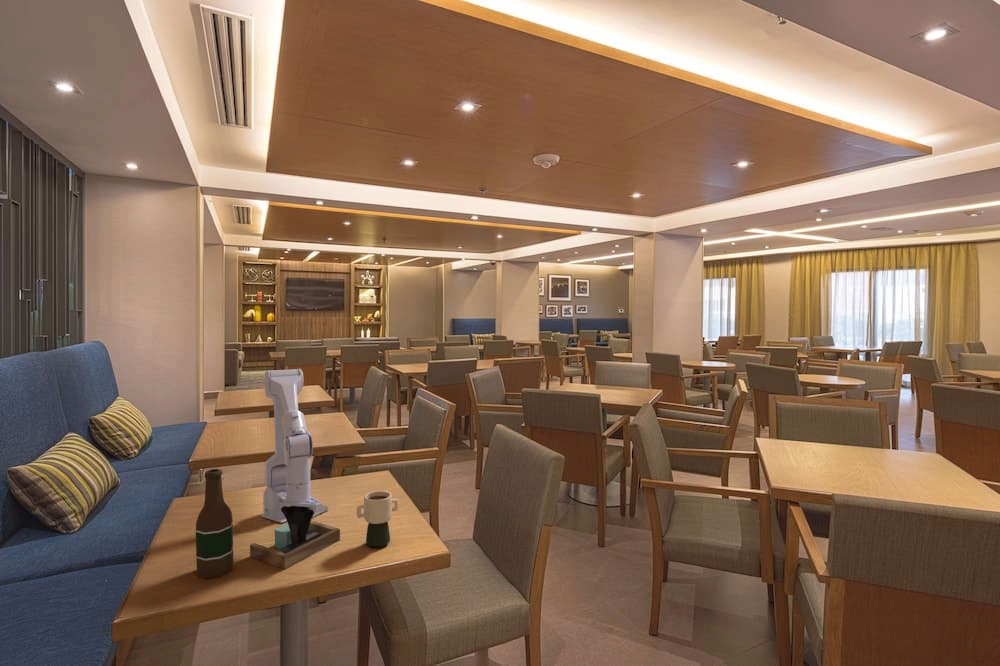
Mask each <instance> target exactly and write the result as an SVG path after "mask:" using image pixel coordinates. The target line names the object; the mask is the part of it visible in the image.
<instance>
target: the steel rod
mask: <svg viewBox="0 0 1000 666" xmlns="http://www.w3.org/2000/svg"><path fill="white" fill-rule="evenodd" d="M326 511H327V512H328V511H329V506H328V505H327V504H324V505H322V510H321V511H318V512H315V513H314V514H313V516H312V519H313V518H316V517H317V515H318V516H320V515H322V514H324V513H327V512H326ZM319 514H320V515H319ZM315 516H316V517H315Z"/></svg>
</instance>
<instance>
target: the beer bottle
mask: <svg viewBox="0 0 1000 666" xmlns="http://www.w3.org/2000/svg"><path fill="white" fill-rule="evenodd" d="M222 475H223V471H222V469H220V468H211V469H209V470H206V471H205V473H204V478H205V485H204V486H205V487H204V488H205V489H204V490H205V491H204V493H205V494H204V504H203V506H202V508H201V510H200V512H199V513H198V516H197V519H196V522H195V549H196V550H195V551H196V552H195V558H196V575H197V577H199V578H202V579H205V580H209V579H216V577H217V578H221V577H223V576H225V575H227V574H228V573H230V572H231V571H232V569H233V565H234V528H233V527H234V522H233V513H232V511H231V509H230V507H229V506H228V504H226V502H225V500H224V492H223V482H222V481H223V480H222ZM226 573H227V574H226ZM224 574H225V575H224ZM222 575H223V576H222Z"/></svg>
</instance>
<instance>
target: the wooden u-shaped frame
mask: <svg viewBox="0 0 1000 666" xmlns="http://www.w3.org/2000/svg"><path fill="white" fill-rule="evenodd" d="M313 532H317V533H320V537H318V538H316V539H314V540H312V541H310V542H308V543H306V544H304V545H302V546H300V547H298V548H296V549H294V550H292V551H290V552H288V553H286V554H285V553H282V552H279V551H277V550H276V549H273V548H270V547H267V546H265V545H261V544H258V543H255V542H253V543H251V544H250V545H249V557H250V558H251V559H252V558H253V559H256V560H259V561H261V562H263V561H264V563H267V564H269V565H272V566H274V567H278V568H280V569H282V570H287V569H289V568H291V567H293V566H294V564H295V563H296V564H298V563H300V562H301V560H302V559H304V560H306V559H307V558H306V557H308V556H309V557H311V556H312V554H313V555H314V553H315V554H316V552H317V553H319V552H320V551H323V550H324V549H326V548H328V547H330V546H331V545H333V544H335V543H337V542H339V541H341V529H340V528H338V527H333V526H331V525H327V524H324V523H321V522H318V521H317V522H316V521H314V520H311V522H310V525H309V529H308V533H307V534H311V533H313ZM318 551H319V552H318ZM310 555H311V556H310ZM309 557H308V558H309ZM305 558H306V559H305ZM299 561H300V562H299ZM302 561H303V560H302ZM297 562H298V563H297ZM296 564H295V565H296ZM292 565H293V566H292ZM290 566H291V567H290Z"/></svg>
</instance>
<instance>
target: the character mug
mask: <svg viewBox="0 0 1000 666" xmlns="http://www.w3.org/2000/svg"><path fill="white" fill-rule="evenodd" d="M363 497H364V498H363V504H359V505H358V506H357V507H356V517H357V519H361V518H364V521H365V522H366V523H368V524H367V527H366V528H367V529H366V535H365V536H366V539H365V544H367V545H368V546H371V547H375V548H380V547H381V548H382V547H384V546H386V545H388V544H389V543H390V542H391V535H390V527H389V521H390V520H391V519H392V516H393V512H396V511H398V510H399V500H398V498H392V497H393V496H392V493H391V492H390V491H386V490H374V491H370V492H367V493H366V494H364V495H363ZM393 504H394V507H393ZM362 509H363V513H362Z"/></svg>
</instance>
